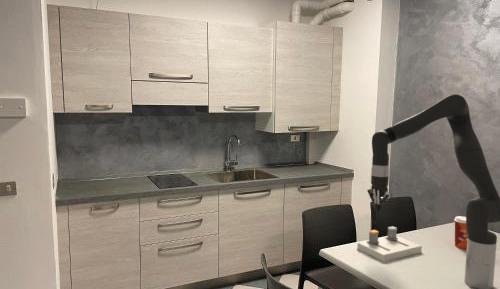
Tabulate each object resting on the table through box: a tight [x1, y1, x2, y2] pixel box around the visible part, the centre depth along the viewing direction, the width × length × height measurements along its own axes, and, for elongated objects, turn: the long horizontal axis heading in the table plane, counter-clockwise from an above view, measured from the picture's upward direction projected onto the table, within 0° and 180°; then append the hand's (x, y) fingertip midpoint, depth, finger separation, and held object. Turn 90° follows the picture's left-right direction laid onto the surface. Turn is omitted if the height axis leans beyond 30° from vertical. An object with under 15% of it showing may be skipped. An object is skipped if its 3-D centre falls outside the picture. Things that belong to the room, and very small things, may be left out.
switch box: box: [357, 235, 423, 262], centre depth 171 cm, size 24×16×3 cm, turn 117°
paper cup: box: [454, 215, 468, 250], centre depth 176 cm, size 8×8×14 cm
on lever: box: [385, 225, 398, 241], centre depth 177 cm, size 4×3×6 cm
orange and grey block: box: [366, 229, 379, 245], centre depth 171 cm, size 4×3×6 cm
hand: (378, 211), depth 168 cm, fingers closed
